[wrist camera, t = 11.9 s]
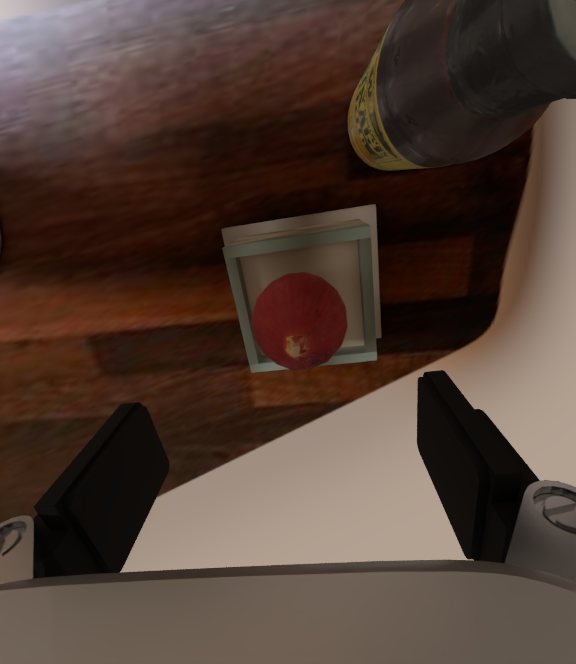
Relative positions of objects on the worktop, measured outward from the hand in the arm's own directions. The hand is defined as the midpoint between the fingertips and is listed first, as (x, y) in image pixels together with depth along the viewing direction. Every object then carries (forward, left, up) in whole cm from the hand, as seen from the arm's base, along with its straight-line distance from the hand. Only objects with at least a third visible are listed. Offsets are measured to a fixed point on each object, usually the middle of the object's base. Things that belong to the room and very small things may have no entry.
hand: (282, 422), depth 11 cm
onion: (0, 0, -13) cm, 13 cm away
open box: (0, 0, -18) cm, 18 cm away
